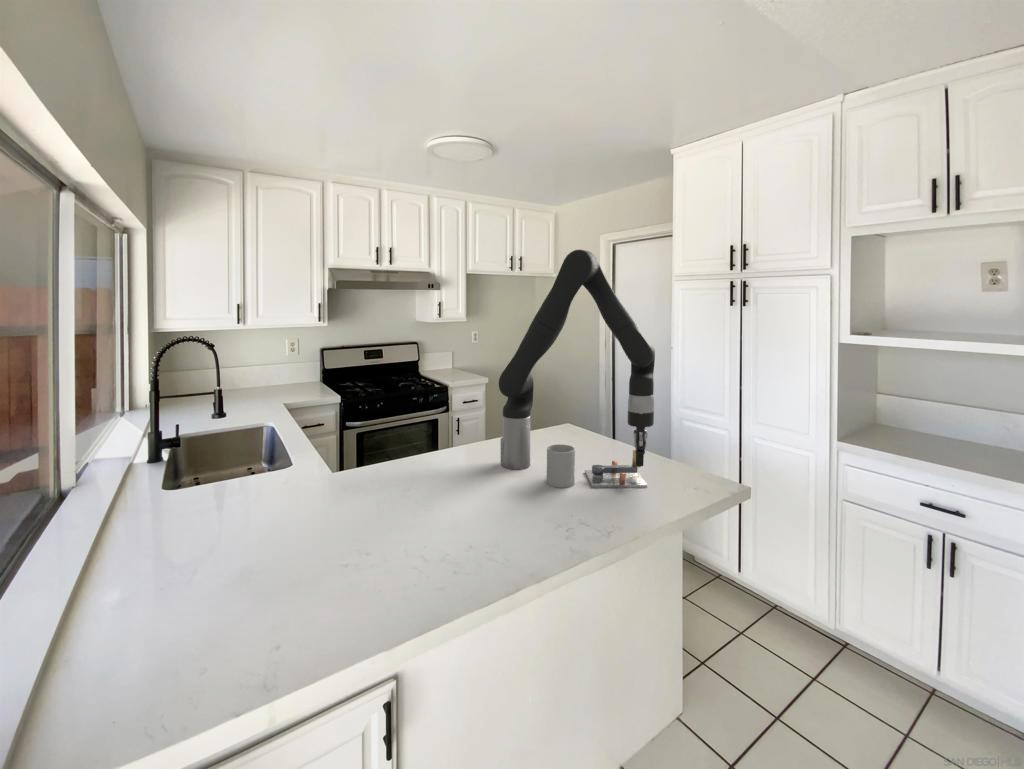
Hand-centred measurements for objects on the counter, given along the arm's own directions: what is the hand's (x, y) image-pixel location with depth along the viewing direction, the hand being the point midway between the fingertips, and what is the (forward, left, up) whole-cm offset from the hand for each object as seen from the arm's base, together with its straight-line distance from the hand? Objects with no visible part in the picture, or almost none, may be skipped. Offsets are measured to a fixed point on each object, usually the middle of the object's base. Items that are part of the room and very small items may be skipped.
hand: (639, 465), depth 147 cm
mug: (-23, -8, -6) cm, 25 cm away
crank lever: (-7, +1, -3) cm, 8 cm away
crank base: (-7, 0, -6) cm, 9 cm away
